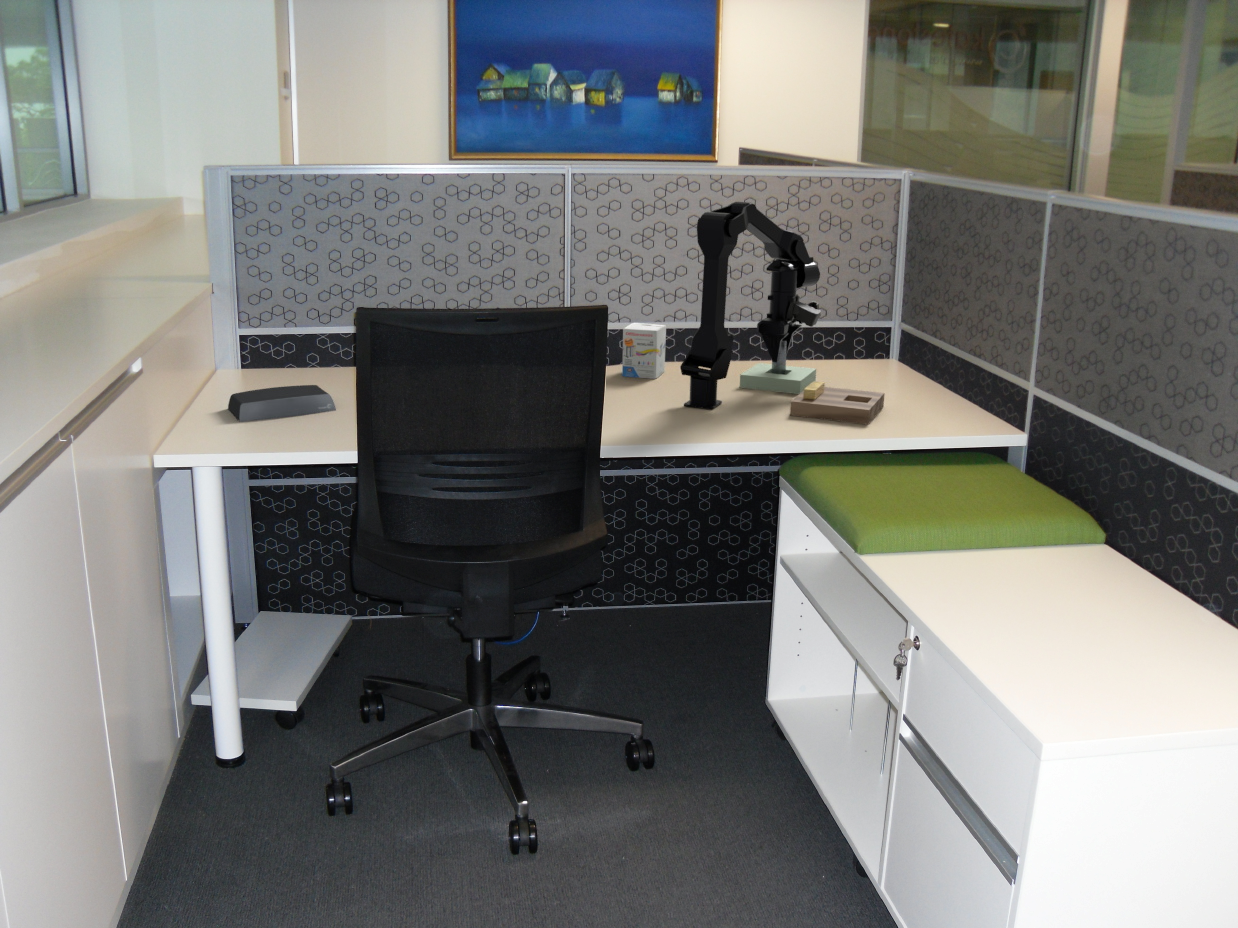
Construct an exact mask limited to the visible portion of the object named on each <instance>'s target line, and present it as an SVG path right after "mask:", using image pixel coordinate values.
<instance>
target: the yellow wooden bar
mask: <svg viewBox="0 0 1238 928" xmlns="http://www.w3.org/2000/svg"><path fill="white" fill-rule="evenodd" d="M825 383H826V382H825V381H817V380H816V381H813V382H812V383H811V384H809V385H808V386H807V387H806V388H805V389H804V394H803V399H812V400H815V399H816V398H817V397H818V396H820V395H821V394H822V393H823V392H824V387H825V385H826V384H825Z"/></svg>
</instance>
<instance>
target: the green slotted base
mask: <svg viewBox="0 0 1238 928" xmlns="http://www.w3.org/2000/svg"><path fill="white" fill-rule="evenodd" d="M816 376H817V368H813V367H802V366H792V365H786V375H783V374H773V373H772V363H762V362H758V363H756V364H754V365H753V366H751V367H750V368H748V369H746V370H745V371H743V372H742V373H741V374H739V388H741V389H742V388H743V389H750V390H759V391H769V392H777V393H787V394H795V395H797V394H798V395H799V394H800V393H801V392H803V391H804V389H805V388H806V387H807V386H808V385H809V384H811V383H812V382H813V381H816V382H817V380H816V378H817V377H816Z"/></svg>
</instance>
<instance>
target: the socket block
mask: <svg viewBox="0 0 1238 928" xmlns="http://www.w3.org/2000/svg"><path fill="white" fill-rule="evenodd" d="M803 394H804V391H803V392H801V393H800V394H798V395H797V396H796V397H794V398H793V399H791V400H790V409H789V413H790V414H789V416H792V417H802V418H811V419H818V420H827V421H834V420H835V422H843V423H853V424H861V425H869V424H870V423H871V422H872V421H873V419H875V417H876V416H877V415H878V414H879V413H880V411H881V410H882V409H883V408H884V405H885V404H884V403H885V395H886V394H885V392H880V391H871V390H862V389H851V388H843V387H842V388H841V387H835V386H833V387H831V386H824V392H823V393H822V394H821V395H820V396H818V397H817V398H816V399H815V400H812V399H803ZM882 407H883V408H882Z"/></svg>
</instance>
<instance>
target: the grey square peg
mask: <svg viewBox="0 0 1238 928" xmlns="http://www.w3.org/2000/svg"><path fill="white" fill-rule="evenodd" d="M786 344H787V341H785V340H782V343H781V347H780V352H779V357H778V361H777V362H772V361H771V364H772V373H773V374H783V375H786V366H787V355H786Z"/></svg>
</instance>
